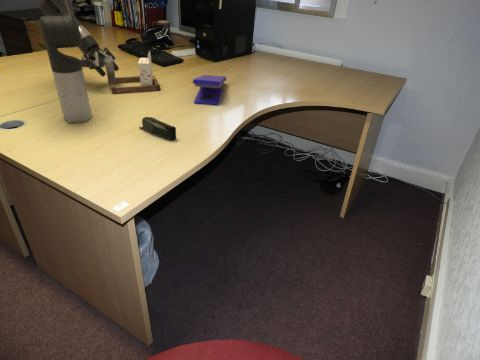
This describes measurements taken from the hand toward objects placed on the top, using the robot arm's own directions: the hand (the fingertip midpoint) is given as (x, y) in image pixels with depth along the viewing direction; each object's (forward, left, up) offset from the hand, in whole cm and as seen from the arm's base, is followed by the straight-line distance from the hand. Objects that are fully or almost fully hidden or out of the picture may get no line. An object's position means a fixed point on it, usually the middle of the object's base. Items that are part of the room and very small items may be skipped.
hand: (111, 72), depth 142 cm
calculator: (+40, +7, -7) cm, 42 cm away
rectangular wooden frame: (0, -9, -7) cm, 11 cm away
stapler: (-14, -40, -7) cm, 43 cm away
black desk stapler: (-47, -11, -7) cm, 49 cm away
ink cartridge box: (-1, -14, -7) cm, 16 cm away
